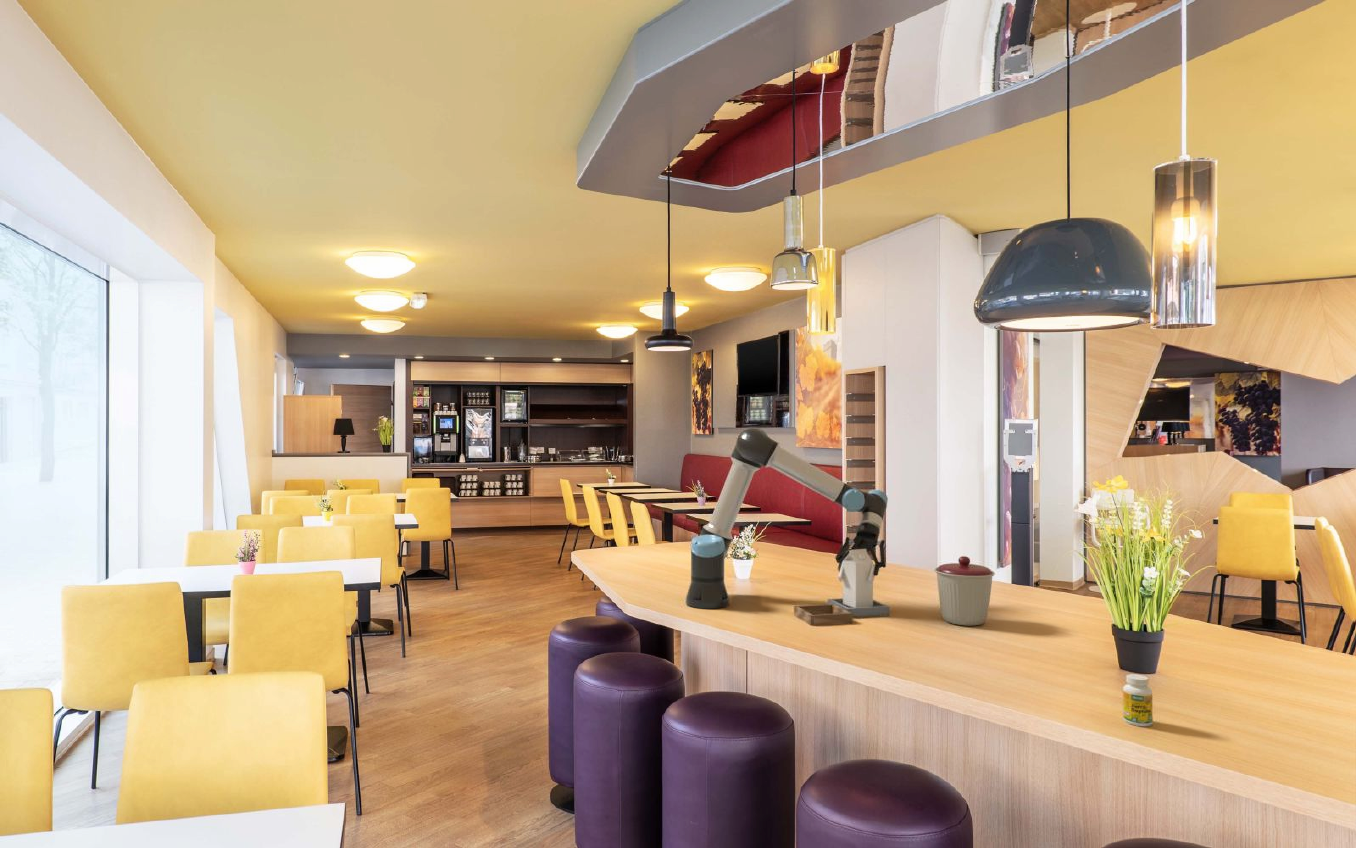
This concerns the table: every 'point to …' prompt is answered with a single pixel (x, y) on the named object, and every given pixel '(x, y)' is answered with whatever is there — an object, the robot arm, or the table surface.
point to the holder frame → (822, 614)
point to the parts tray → (863, 609)
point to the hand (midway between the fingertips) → (855, 580)
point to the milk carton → (857, 579)
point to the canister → (964, 592)
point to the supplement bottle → (1137, 701)
